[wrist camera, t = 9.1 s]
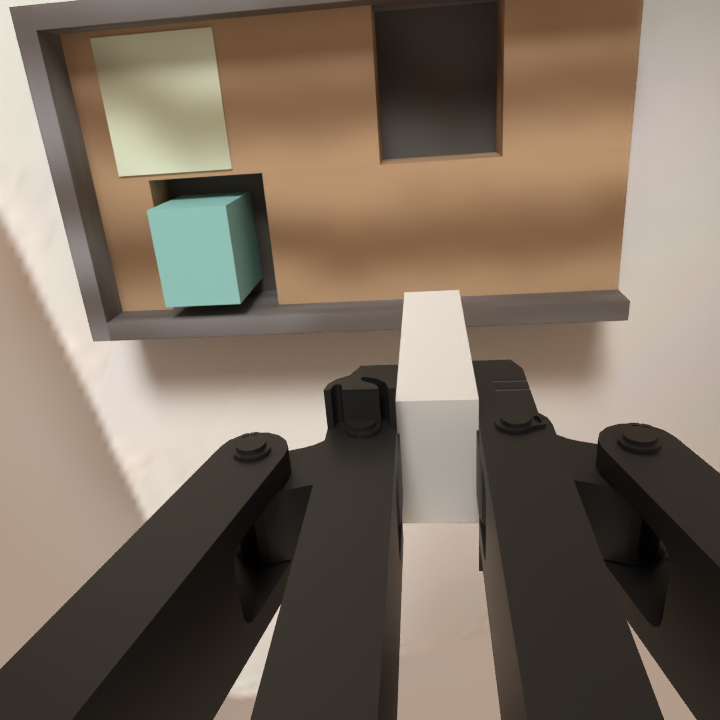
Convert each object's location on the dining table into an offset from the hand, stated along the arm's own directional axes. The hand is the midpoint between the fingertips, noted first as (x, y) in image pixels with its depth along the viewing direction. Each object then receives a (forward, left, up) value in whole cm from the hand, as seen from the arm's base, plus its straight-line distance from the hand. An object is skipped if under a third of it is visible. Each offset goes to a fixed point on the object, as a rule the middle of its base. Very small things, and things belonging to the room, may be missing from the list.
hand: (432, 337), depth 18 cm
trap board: (-3, -4, -19) cm, 20 cm away
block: (0, -10, -16) cm, 19 cm away
